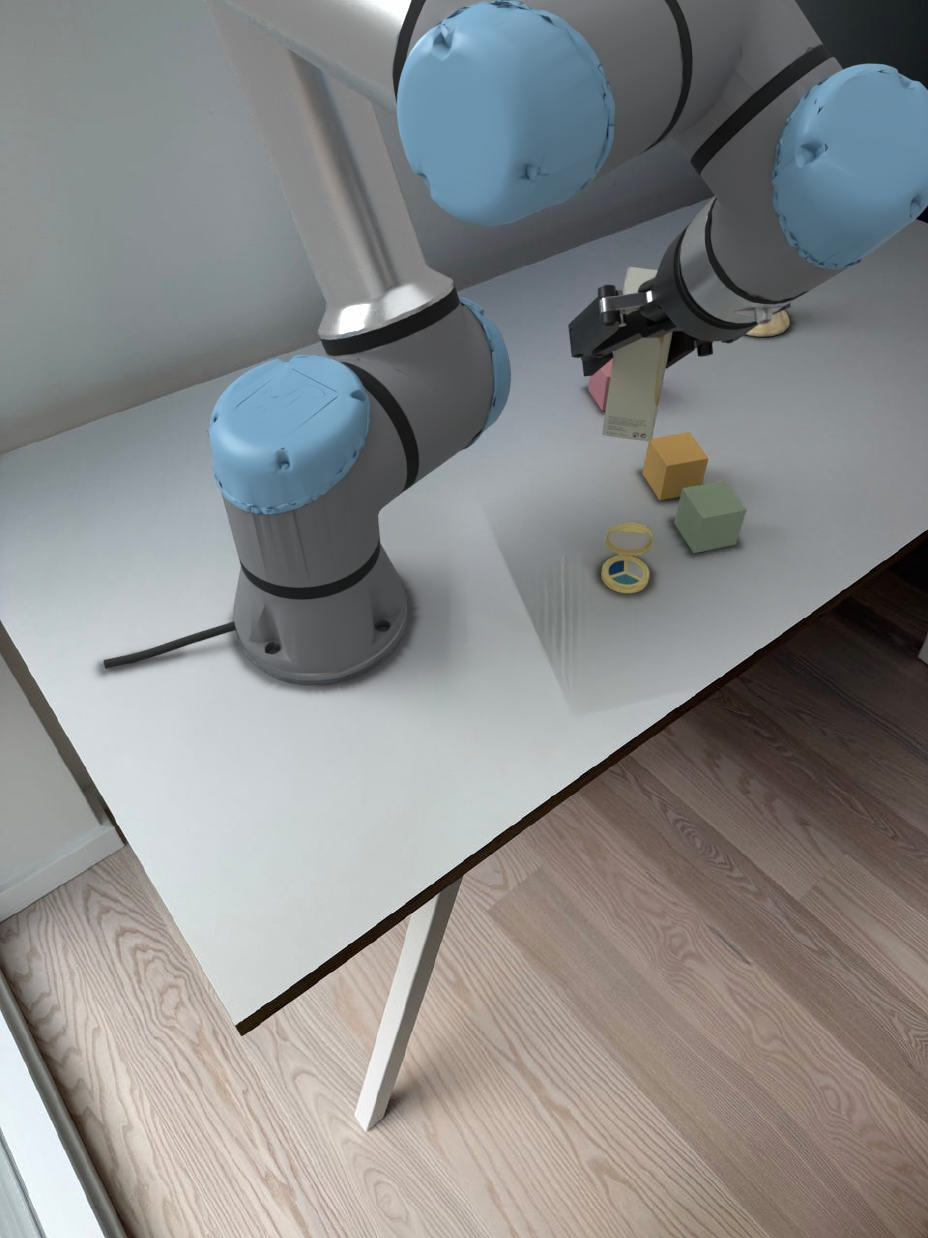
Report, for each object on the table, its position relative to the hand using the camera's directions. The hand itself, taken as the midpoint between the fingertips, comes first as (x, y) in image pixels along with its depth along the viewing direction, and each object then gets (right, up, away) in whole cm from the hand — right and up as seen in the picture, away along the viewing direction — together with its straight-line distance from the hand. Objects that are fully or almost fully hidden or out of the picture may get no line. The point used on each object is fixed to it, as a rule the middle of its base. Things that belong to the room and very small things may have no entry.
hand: (624, 356), depth 77 cm
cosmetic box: (+1, -5, +1) cm, 6 cm away
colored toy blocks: (+7, -6, +18) cm, 20 cm away
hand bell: (+24, +16, +37) cm, 47 cm away
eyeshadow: (+1, -19, +7) cm, 20 cm away
